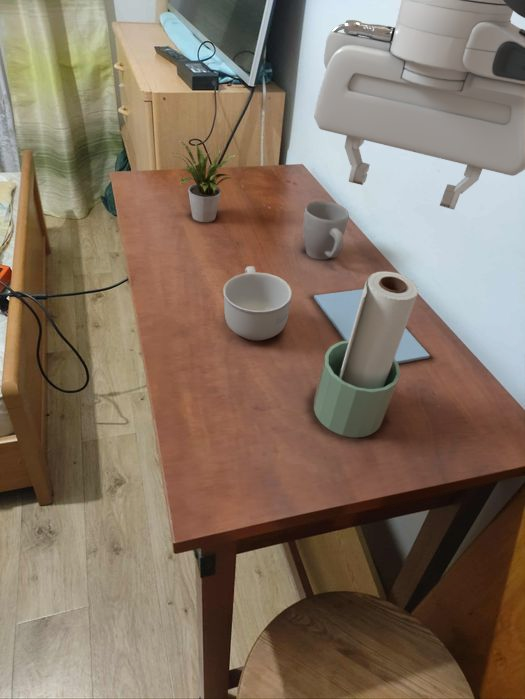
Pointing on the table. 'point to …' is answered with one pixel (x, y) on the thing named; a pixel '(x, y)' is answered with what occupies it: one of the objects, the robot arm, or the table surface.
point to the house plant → (204, 185)
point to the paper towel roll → (378, 329)
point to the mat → (343, 316)
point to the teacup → (256, 304)
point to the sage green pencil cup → (350, 398)
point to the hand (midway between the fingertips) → (401, 193)
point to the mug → (324, 229)
